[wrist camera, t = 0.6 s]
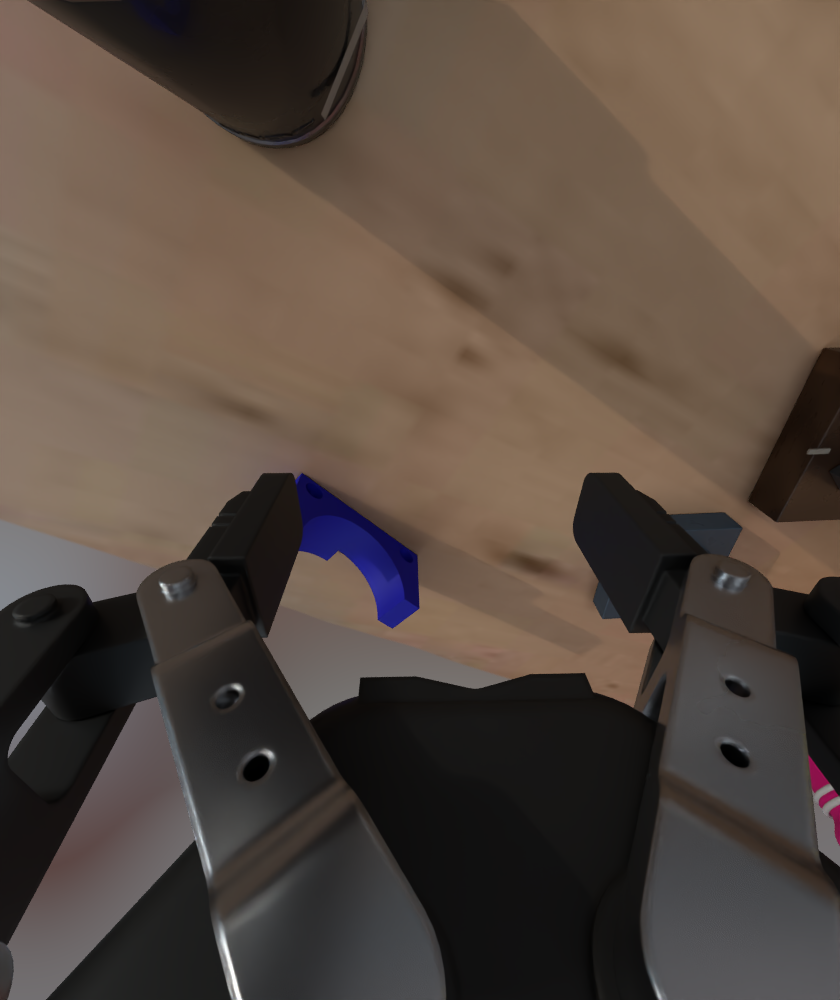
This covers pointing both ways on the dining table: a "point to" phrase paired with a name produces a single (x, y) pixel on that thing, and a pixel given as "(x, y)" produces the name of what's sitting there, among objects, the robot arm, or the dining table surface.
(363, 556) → the blue notched block
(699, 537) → the button box
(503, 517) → the dining table surface
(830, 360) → the switch base
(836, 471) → the selector knob handle
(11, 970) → the robot arm
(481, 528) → the dining table surface
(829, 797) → the pepper mill
